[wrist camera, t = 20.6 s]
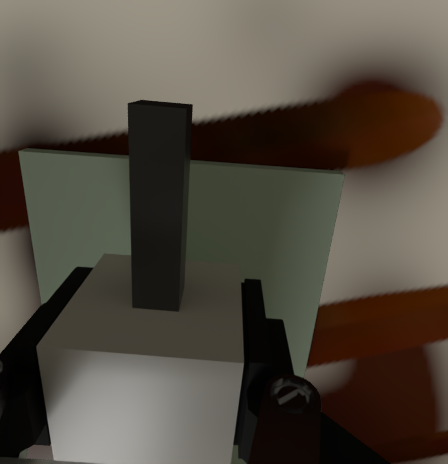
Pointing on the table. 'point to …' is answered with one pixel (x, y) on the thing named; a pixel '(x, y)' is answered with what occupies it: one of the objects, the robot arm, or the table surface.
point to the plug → (148, 327)
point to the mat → (193, 227)
